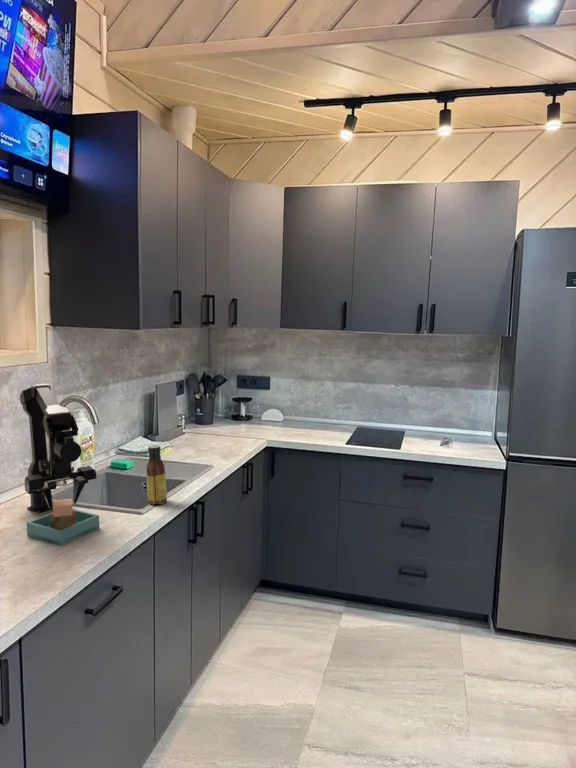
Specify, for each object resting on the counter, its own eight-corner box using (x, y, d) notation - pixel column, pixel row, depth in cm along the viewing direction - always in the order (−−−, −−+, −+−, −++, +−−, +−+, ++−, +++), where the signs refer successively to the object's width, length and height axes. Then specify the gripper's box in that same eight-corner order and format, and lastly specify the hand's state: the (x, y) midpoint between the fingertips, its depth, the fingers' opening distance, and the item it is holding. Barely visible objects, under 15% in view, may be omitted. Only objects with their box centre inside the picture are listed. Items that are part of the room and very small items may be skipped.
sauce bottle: (168, 499, 187) (167, 443, 184) (164, 506, 181) (163, 448, 178) (149, 499, 187) (148, 443, 184) (145, 506, 181) (143, 448, 178)
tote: (27, 535, 156) (26, 522, 156) (66, 519, 168) (65, 507, 168) (61, 545, 150) (60, 532, 149) (99, 528, 162) (98, 515, 162)
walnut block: (50, 529, 158) (49, 513, 157) (64, 524, 162) (63, 508, 162) (62, 533, 156) (61, 516, 155) (76, 527, 160) (75, 511, 159)
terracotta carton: (54, 510, 160) (54, 500, 160) (72, 508, 162) (72, 498, 162) (53, 517, 155) (52, 507, 154) (71, 515, 156) (71, 505, 156)
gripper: (83, 444, 168) (85, 492, 170) (18, 453, 156) (21, 504, 158) (96, 451, 159) (98, 502, 162) (28, 462, 148) (31, 516, 150)
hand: (62, 505), depth 158 cm, fingers open, 7 cm apart
